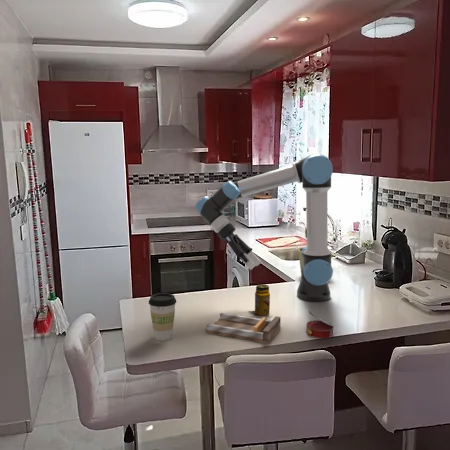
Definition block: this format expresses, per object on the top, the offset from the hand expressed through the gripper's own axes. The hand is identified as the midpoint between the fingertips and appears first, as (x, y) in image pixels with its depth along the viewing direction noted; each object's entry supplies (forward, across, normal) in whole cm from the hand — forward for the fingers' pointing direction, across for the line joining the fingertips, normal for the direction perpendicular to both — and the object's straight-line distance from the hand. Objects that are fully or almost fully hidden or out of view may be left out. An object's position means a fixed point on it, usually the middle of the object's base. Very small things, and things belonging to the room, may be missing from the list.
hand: (256, 266), depth 187 cm
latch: (+19, +23, -10) cm, 31 cm away
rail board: (+16, +22, -15) cm, 31 cm away
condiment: (+16, +3, -11) cm, 20 cm away
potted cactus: (+22, -57, +7) cm, 61 cm away
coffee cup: (-1, +34, -36) cm, 50 cm away
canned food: (+34, +16, +5) cm, 38 cm away
